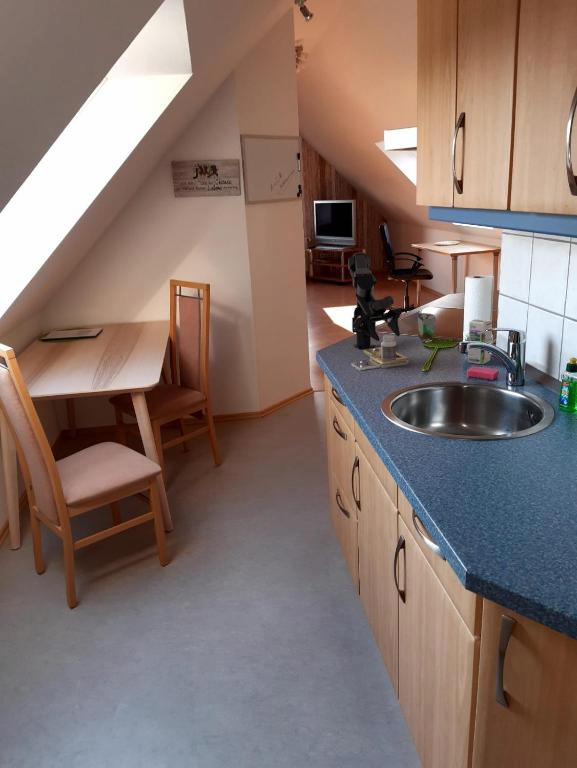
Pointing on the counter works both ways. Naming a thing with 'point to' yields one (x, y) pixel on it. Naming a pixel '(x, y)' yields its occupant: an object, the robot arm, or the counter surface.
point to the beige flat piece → (379, 360)
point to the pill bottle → (388, 347)
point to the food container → (426, 326)
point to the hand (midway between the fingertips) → (389, 338)
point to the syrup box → (479, 334)
